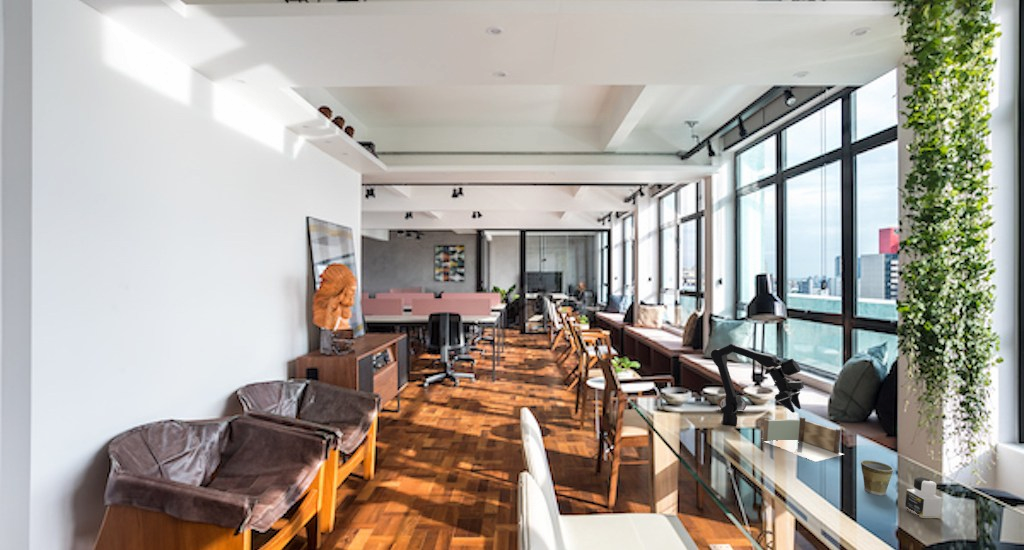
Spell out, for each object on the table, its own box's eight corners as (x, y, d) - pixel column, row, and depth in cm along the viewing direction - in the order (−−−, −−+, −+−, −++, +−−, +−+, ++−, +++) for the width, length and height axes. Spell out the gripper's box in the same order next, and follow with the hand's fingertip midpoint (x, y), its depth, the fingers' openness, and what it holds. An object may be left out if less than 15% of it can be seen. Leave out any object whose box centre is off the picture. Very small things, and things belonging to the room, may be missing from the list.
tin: (744, 411, 299) (745, 396, 299) (746, 412, 296) (747, 397, 296) (717, 409, 301) (718, 394, 300) (718, 410, 297) (719, 395, 297)
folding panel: (795, 439, 252) (797, 418, 252) (798, 441, 250) (800, 420, 250) (761, 440, 249) (763, 419, 248) (764, 441, 247) (765, 420, 246)
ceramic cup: (892, 500, 192) (894, 473, 192) (859, 492, 197) (861, 466, 197) (889, 487, 203) (891, 462, 203) (858, 480, 208) (860, 455, 208)
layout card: (756, 440, 249) (757, 439, 249) (785, 434, 260) (785, 433, 260) (815, 462, 225) (815, 461, 225) (844, 455, 236) (844, 454, 236)
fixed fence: (796, 440, 252) (798, 417, 252) (799, 439, 253) (801, 416, 253) (837, 454, 236) (839, 429, 235) (840, 453, 237) (842, 429, 236)
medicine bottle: (904, 508, 186) (907, 475, 185) (923, 508, 186) (926, 475, 186) (921, 519, 179) (924, 484, 178) (941, 519, 179) (944, 484, 179)
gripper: (789, 376, 244) (807, 408, 239) (801, 370, 257) (819, 401, 252) (767, 384, 251) (784, 416, 245) (780, 379, 264) (796, 409, 259)
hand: (796, 410), depth 250 cm, fingers open, 9 cm apart
